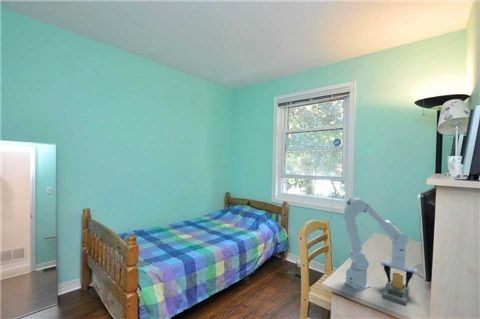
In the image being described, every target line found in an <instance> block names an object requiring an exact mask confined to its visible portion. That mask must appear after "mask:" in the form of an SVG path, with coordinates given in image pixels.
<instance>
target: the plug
mask: <svg viewBox="0 0 480 319" xmlns="http://www.w3.org/2000/svg"><path fill="white" fill-rule="evenodd" d="M391 280H392V287H395V288H398V289H402V290H404V288H403V284H404V273H401V272H397V271H393V272H392V278H391Z"/></svg>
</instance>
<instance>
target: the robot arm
mask: <svg viewBox="0 0 480 319" xmlns="http://www.w3.org/2000/svg"><path fill="white" fill-rule="evenodd" d="M362 213H365V214H368V215H369V216H370V217H371V218H372V219H373V220H374V221H375V222H377V223H378V226H379V229H380V230H381V231H382V232H383V233H385V235H387V236H388V237H389V239H390V240H391V259H390V260H391V261H385V260H381V261H380V266H382V267H383V270H384V272H385V275H386V277H387V281H388V282H390V280H392V278H391V269H395V270H399V271H402V272H406V273H405V284H406V285H405V287H406V288H407V287H408V285H409V282H410V280H411V279H412V278H413V275H414V276H416V275H417V274H418V273H417V269H416V268H413V267H410V266H407V265H406V256H407V255H406V253H407V252H406V251H407V250H406V249H407V248H406V247H407V245H408V244H409V242H410V240H408V237H407V235H405V234H404V233H402V230H401V229H400V228H397V227H396V226H395V225H394V222H393V221H390V220H388V219H384V218H383V217H382V216H381V215H380V213H379V212H377V211H376V210H375V209H374V207H373V206H371V205H370V204H369V203H367V202H366V201H365V200H364V199H362V198H359V197H357V196H352V197H350V198H349V199H348V200H347V201H346V205H345V208H344V211H343V214H342V215H343V219H344V222H345V223H344V224H345V228H346V231H347V235H348V241H349V245H350V255H349V258H350V260H351V261H352V262H351V264H350V267H349V268H347V269H346V272H345V281H344V283H345V284H346V285H348V286H350V287H351V288H353V289H355V290H356V291H360V290H365V289H367V288H371V285H370V284H369V283H367V280H368V268H369V265H370V263H369V260H368V259H367V258H366V255H365V252H364V251H363V246H362V244H361V238H360V235H359V231H358V227H357V223H356V217H357V216H359V215H360V214H362Z"/></svg>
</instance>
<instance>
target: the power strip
mask: <svg viewBox="0 0 480 319" xmlns="http://www.w3.org/2000/svg"><path fill="white" fill-rule="evenodd" d="M405 285H406V283H403V290H402V289H398V288H395V287H392V279H390V282H388V280H387V282H386V284H385V287H384V289H383V291H382V295H381V297H382V298H384V299H388V300H390V301H393V302H396V303H399V304H401V305H405V306H407V303H408V298H409V294H410V293H409V292H410V285H409V284H408V287H407V288H406V287H405ZM390 293H391V294H390ZM394 294H395V295H394ZM396 295H398V296H396ZM399 296H400V297H399Z"/></svg>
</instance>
